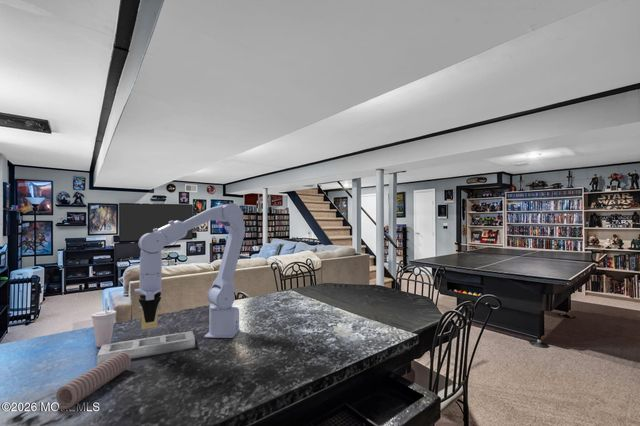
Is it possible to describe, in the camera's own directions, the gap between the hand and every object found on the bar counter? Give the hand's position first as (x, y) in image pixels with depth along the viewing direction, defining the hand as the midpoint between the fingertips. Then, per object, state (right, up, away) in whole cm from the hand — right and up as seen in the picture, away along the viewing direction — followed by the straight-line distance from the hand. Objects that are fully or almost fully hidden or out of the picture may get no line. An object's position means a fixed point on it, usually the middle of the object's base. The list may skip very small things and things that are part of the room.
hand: (150, 319), depth 90 cm
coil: (-1, -9, -20) cm, 22 cm away
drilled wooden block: (0, -2, 0) cm, 2 cm away
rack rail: (0, -9, 0) cm, 9 cm away
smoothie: (-17, -9, +4) cm, 20 cm away
